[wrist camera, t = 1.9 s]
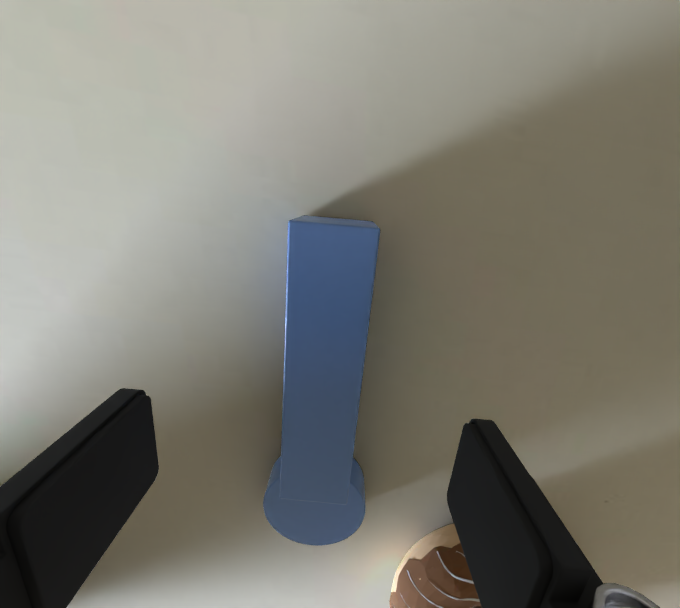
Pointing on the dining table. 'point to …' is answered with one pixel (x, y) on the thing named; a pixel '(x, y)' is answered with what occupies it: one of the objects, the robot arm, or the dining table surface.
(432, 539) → the donut
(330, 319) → the spoon
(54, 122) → the dining table surface
